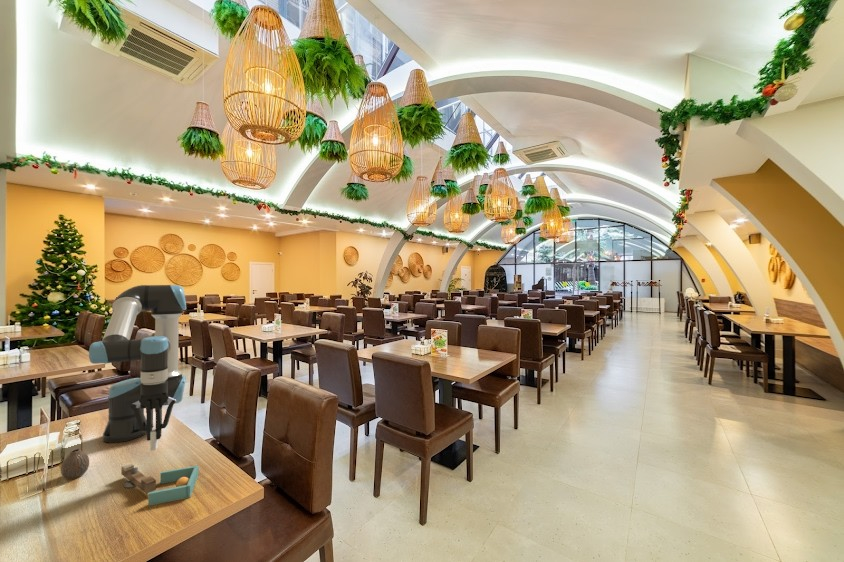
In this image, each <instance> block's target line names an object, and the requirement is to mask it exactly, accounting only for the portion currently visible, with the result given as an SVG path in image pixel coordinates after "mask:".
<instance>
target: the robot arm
mask: <svg viewBox="0 0 844 562" xmlns="http://www.w3.org/2000/svg"><path fill="white" fill-rule="evenodd" d="M111 309H112V314H111V317H110V320H109V322H108V325H107V328H106V330H105V333H104V335H103V337H102V340H99V341H95V342H92V343H91V344H90V346H89V348H88V358H89V359H88V360H89V362H90V364H94V365H95V364H96V365H97V364H114V363H121V362H130V361H131V362H134V361H140V377H134V378H129V379H125V380H121V381H119V382H116V383H114V384H112V385H111V386H110V387H109V389H108V396H107V398H108V420H107V423H106V426H105V428H104V431H103V434H102V442H104V441H105V442H104V443H106V442H110V443H109V444H112V443H111V442H117V443H123V441H124V442H127V441H133V440H135V439H138V438H140V437H139V436H141V435H143V434H145V433H146V432H147V433H146V434H145V435H146V440H147V441H150V442H149V443H150V445H149V447H150V448H149V449H150V450H149V451H150V452H151V451H156V450H157V449H158V446H159V440H160V439H161V437H162V429H165V428H167V426H168V425H169V422H170V418H171V414H172V411H173V407H174V406H175V404H179V403H181V402H182V401H183V396H184V391H185V385H186V376H184V375H183V372H182V371H180V369H179V334H180V333H179V330H180V329H179V328H180V327H179V323H180V322H179V318H180V317H181V316H182V315H183V312H184V311H186V310H187V302H186V295H185V289H184V287H183V286H181V285H180V284H179V285H177V284H176V285H175V284H150V285H149V284H141V285H135V286H132V287H130V288H128V289H126V290H124V291H122V292H121V293H120V294H119V295H117V297H116V298H115V299H114V301H113V302H112V306H111ZM141 312H150V313H151V314H150V315H151V316H152V317H153V319H155V320H154V322H155V324H154V325H155V327H154V336H153V335H152V336H147V337H144V338H139V339H137V338H136V339H131V336H132V334H133V329H134V326H135V322H136V319H137V316H138V315H139V314H140V313H141ZM164 406H167V408H166V412H165V415H164V418H163V407H164ZM154 412H155V428H154ZM145 413H146V415H145ZM143 436H144V435H143ZM137 437H138V438H137ZM141 437H142V436H141ZM134 438H135V439H134Z"/></svg>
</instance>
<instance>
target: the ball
mask: <svg viewBox="0 0 844 562" xmlns="http://www.w3.org/2000/svg"><path fill="white" fill-rule="evenodd" d="M189 479H190V478H189ZM189 479H188V478H187V477H182V478H180V479H179V480H178V481H175V482H176V483H175V487H179V486H184V485H187V484H188V482H189Z"/></svg>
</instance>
